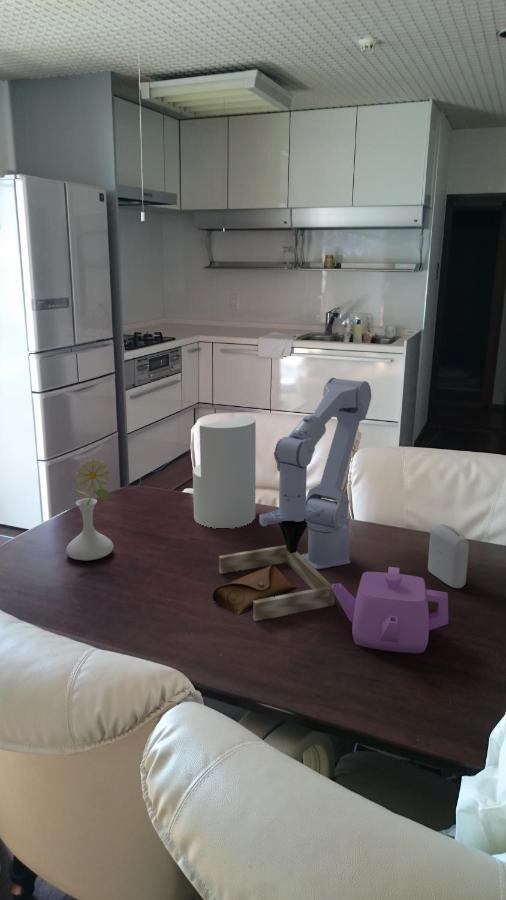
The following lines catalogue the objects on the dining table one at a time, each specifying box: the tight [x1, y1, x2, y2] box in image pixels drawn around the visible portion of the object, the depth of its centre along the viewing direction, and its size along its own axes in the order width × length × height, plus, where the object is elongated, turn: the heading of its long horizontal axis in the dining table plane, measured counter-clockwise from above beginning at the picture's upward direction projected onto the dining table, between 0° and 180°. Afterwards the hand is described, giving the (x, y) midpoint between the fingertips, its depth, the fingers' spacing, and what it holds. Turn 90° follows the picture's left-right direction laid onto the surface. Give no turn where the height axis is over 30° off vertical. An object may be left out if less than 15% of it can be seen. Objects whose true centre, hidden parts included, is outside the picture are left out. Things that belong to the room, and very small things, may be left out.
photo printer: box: [427, 523, 470, 589], centre depth 144 cm, size 10×4×12 cm, turn 20°
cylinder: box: [192, 414, 257, 529], centre depth 177 cm, size 17×17×28 cm
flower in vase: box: [65, 458, 115, 561], centre depth 154 cm, size 13×11×25 cm
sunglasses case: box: [212, 564, 297, 615], centre depth 139 cm, size 18×7×7 cm
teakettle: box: [331, 566, 449, 654], centre depth 123 cm, size 17×17×12 cm
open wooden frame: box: [218, 544, 336, 622], centre depth 141 cm, size 18×23×4 cm
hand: (291, 551), depth 141 cm, fingers closed
